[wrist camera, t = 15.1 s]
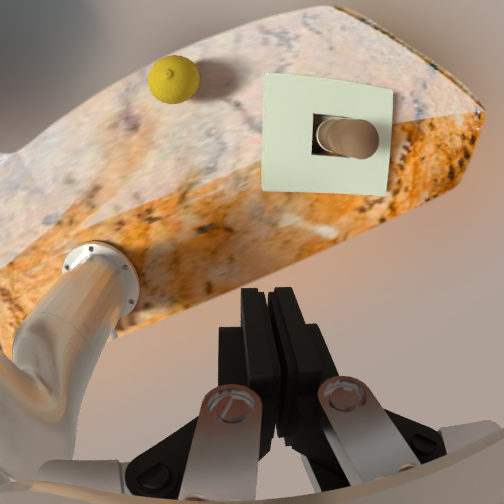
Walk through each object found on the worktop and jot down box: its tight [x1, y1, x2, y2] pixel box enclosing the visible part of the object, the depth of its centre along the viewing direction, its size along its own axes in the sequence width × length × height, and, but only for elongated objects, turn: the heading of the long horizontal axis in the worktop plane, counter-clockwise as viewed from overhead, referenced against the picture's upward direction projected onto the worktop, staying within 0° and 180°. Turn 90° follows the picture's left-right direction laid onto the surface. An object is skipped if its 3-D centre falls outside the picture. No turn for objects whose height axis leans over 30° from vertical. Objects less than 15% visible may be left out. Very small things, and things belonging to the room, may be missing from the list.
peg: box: [313, 119, 379, 159], centre depth 30 cm, size 4×4×11 cm
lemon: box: [148, 55, 200, 104], centre depth 28 cm, size 6×6×8 cm
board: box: [261, 73, 393, 196], centre depth 34 cm, size 14×16×2 cm
